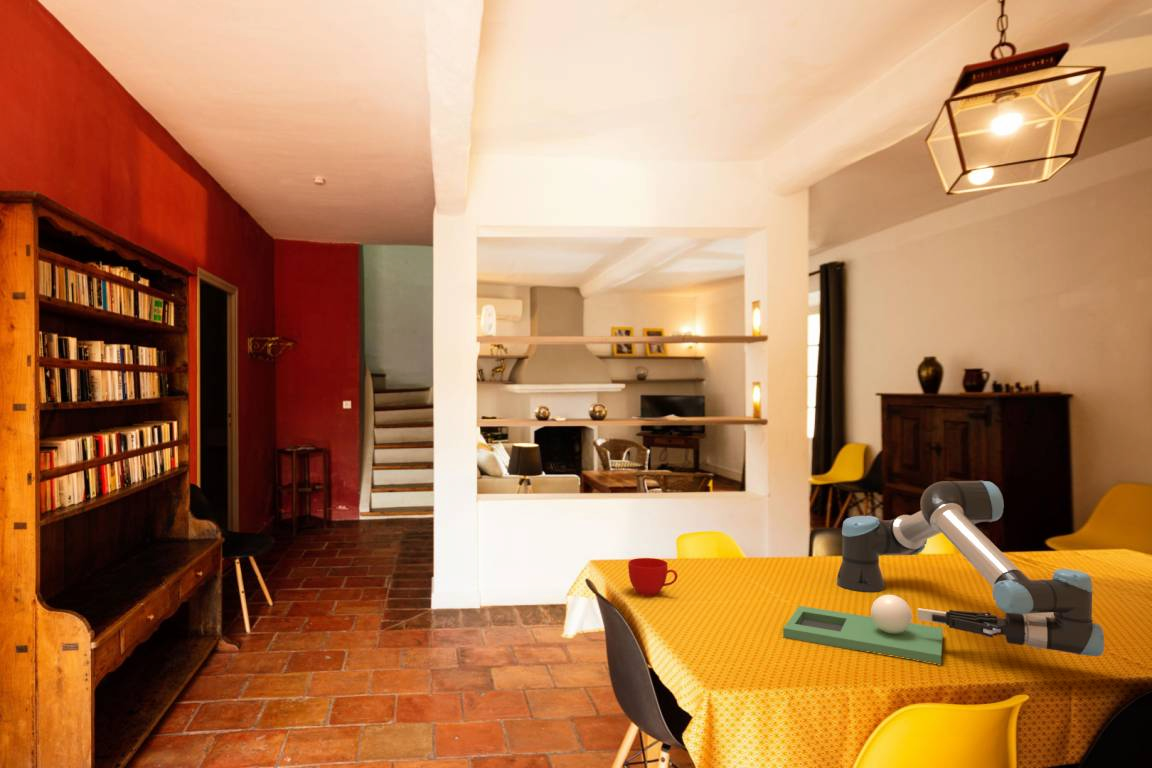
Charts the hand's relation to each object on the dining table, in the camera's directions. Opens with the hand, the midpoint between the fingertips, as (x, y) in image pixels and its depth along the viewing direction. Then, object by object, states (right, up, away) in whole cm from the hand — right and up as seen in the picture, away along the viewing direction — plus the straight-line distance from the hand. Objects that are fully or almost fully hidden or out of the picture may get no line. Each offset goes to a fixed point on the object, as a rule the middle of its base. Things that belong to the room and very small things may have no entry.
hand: (917, 613), depth 180 cm
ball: (-6, -1, +3) cm, 6 cm away
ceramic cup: (-65, -9, +45) cm, 79 cm away
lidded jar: (+45, -9, +22) cm, 51 cm away
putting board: (-12, -9, +6) cm, 16 cm away
